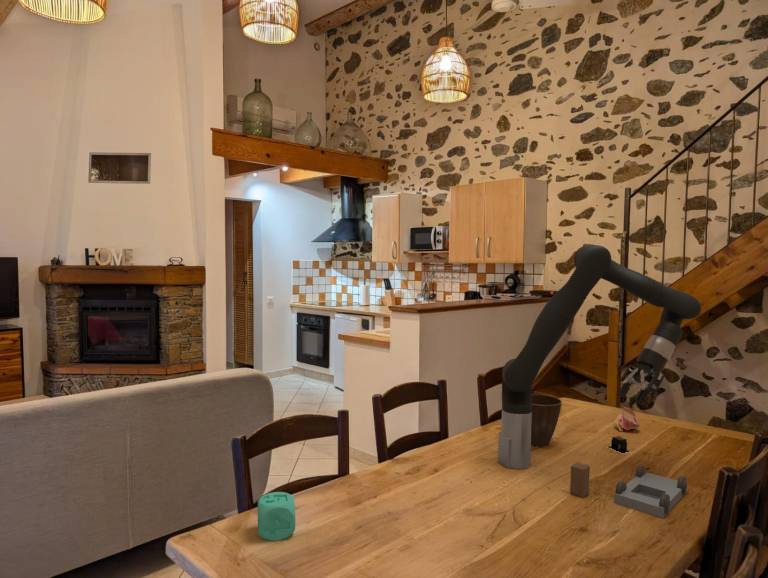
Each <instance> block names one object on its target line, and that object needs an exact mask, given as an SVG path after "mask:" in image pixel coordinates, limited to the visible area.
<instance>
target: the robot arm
mask: <svg viewBox="0 0 768 578" xmlns="http://www.w3.org/2000/svg"><path fill="white" fill-rule="evenodd" d="M573 264H574V266H575V269H574V271H573V272H572V274H571V276H570V277H569V278H568V280H567V281H566V283H565V284H564V285H563V286H562V287H561V288H560V289H558V291H557V292H555V294H553V296H552V297H550V298H549V300H548V301H547V302H546V304H545V305H544V307H542V310H541V311H540V313H539V314H538V316H537V318H536V319H535V322H534V323H533V326H532V327H531V331H530V333H529V336H528V338H527V340H526V343H525V344H524V346H523V348H522V349H521V351H520V352H519V354H518V355H517V356H516V357H515V358H512V359H509V360H508V361H507V362H506V363H505V364H504V365H503V368H502V372H501V373H502V374H501V424H500V425H501V428H500V429H501V431H500V432H498V439H497V440H498V448H497V462H498V463H500V464H501V465H502V466H504V467H505V468H506V469H515V470H516V469H517V470H522V469H523V470H525V469H528V468H529V467H531V454H532V453H531V451H532V445H531V424H532V398H531V394H532V385H533V384H534V382H535V380H536V378H537V375H538V374H539V372H540V369H541V368H542V367H543V363H544V362H545V361H546V359H547V357H548V356H549V355H550V353H551V352H552V351H553V349H554V348H555V346H556V345H557V344H558V343H559V341H560V340H561V338H562V337H563V335H564V334H565V333H566V331H567V330H568V328H569V327H570V325H571V323H572V322H573V321H574V319H575V317H576V315H577V314H578V312H579V310H580V309H581V307H582V306H583V304H584V302H585V301H586V299H587V297H588V296H589V294H590V293H591V292H592V291H593V289H594V287H595V286H596V285H597V284H598V282H599V281H600V280H604V281H606V282H609V283H611V284H613V285H615V286H617V287H619V288H620V289H623V290H624V291H626V292H627V293H629V294H631V295H633V296H634V297H636V298H637V299H638V298H639V299H640V300H642V301H644V302H646V303H648V304H650V305H651V306H654V307H657V308H663V309H662V311H661V315H660V317H659V318H660V319H659V323H658V324H657V326H656V328H655V330H654V331H653V333H652V334H651V336H650V337H649V339H648V340H647V341H646V342H645V345H644V347H643V348H642V350H641V352H640V353H639V355H637V356H638V357H637V358H636V361H637V365H636V366H634V365H632V364H629V365H628V366H627V368H626V369H625V370H624V373H623V374H622V375H621V377H620V379H619V380H620V381H621V382H622V385H621V387H620V388H619V389H618V392H617V395H618V396H619V397H621V398H624V399H625V398H626V396H627V394H629V393H628V392H629V391H630V390H631V388H632V387H633V386H634V385H638V384H641V389H640V390H639V392H638V394H637V395H636V396H635V399H634V401H635V402H636V403H637V404H639V405H643V403H644V402H645V400H646V399H647V397H648V395H651V393H653V394H656V393H657V392H658V389H659V387H660V386H661V384H662V382H663V380H664V378H665V375H663V374H662V372H663V370H664V369H665V367H666V365H667V364H668V362H669V360H670V358H672V357H671V356H672V355H673V353H674V350H675V348H676V346H677V344H678V343H679V341H680V339H681V338H682V335H683V333H684V332H683V328H682V327H681V326H682V325H681V324H682V323H683V321H684V320H693V319H695V318H697V317H699V316H700V314H701V313H702V305H701V302H700V301H699V300H698V298H696V297H694V296H693V295H690V294H689V293H686V292H683V291H680V290H678V289H675V288H671V287H669V286H667V285H665V284H663V283H661V282H660V281H658V280H656V279H654V278H652V277H650V276H648V275H645V274H644V273H640V272H638V271H636V270H634V269H630V268H628V267H627V266H624V265H622V264H620V263H618V262H616V261H615V260H614V259H612V254H611V252H610V251H609V249H607V248H606V247H605V246H602V245H597V244H585V245H583V246H580V247H579V248H577V250H576V251H575V252H574V254H573Z"/></svg>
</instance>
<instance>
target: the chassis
mask: <svg viewBox="0 0 768 578" xmlns="http://www.w3.org/2000/svg"><path fill="white" fill-rule="evenodd" d="M687 492H688V481H687V477H686V476H683V475H679V477H678V480H677V479H673V478H668V477H666V476H662V475H657V474H655V473H654V474H653V473H650V472H647V469H646V466H643V465H638V466H637V469H636V472H635V476H634V477H633V478H632V479H631V480H629V481H628V482H627V483H626V482H625V481H622V480H619V481H618V482H617V483H616V487H615V493H614V496H613V497H614V500H613V502H614V503H613V504H617V505H620V506H623V507H627V508H629V509H632V510H636V511H638V512H642V513H645V514H649V515H652V516H654V517H658V518H660V519H664V517H666V516H667V514H669V513H670V511H671V510H672V509H673V508H674V506H676V505H677V503H678V502H679V501H680V500H681V499H683V497H684V496H685V494H687Z"/></svg>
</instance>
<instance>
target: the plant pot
mask: <svg viewBox="0 0 768 578" xmlns="http://www.w3.org/2000/svg"><path fill="white" fill-rule="evenodd" d="M531 398H532V424H531V446H532V445H533V446H532V447H536V446H539V447H538V448H545V446H546V447H548V446H549V445H550V443H551V440H552V438H553V435H554V433H555V432H556V431H555V430H556V428H557V425H558V421H559V417H560V413H561V410H562V409H561V408H562V403H563V402H562V400H561V399H560V398H558V397H555V396H552V395H547V394H538V393H531Z"/></svg>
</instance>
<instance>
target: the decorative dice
mask: <svg viewBox="0 0 768 578" xmlns="http://www.w3.org/2000/svg"><path fill="white" fill-rule="evenodd" d="M295 530H296V505H295V498H294V496H293V495H292V494H290V493H288V492H286V491H285V492H284V491H273V492H269V493H266V494H264V495H262V496H261V497H260V498H259V499H258V500H257V533H258V537H260V538H261V539H263V540H265V541H269V542H276V541H283V540H285V539H289V537H291V535H293V534H294V532H295Z"/></svg>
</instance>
